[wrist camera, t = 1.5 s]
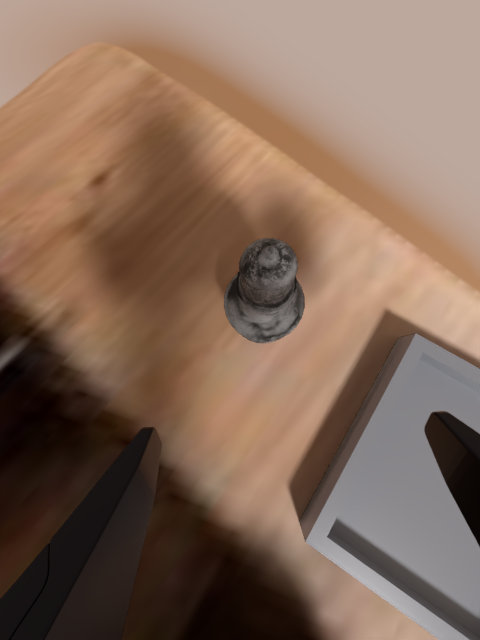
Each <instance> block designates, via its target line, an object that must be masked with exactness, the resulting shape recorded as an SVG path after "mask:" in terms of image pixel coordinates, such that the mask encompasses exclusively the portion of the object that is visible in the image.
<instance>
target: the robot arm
mask: <svg viewBox="0 0 480 640" xmlns="http://www.w3.org/2000/svg"><path fill="white" fill-rule="evenodd" d="M424 432H425V435H426V438H427V440H428V442H429V445H430V447H431V450H432V452H433V454H434V457H435V459H436V462H437V464H438V466H439V469H440V471H441V474H442V476H443V478H444V480H445V483H446V485H447V487H448V489H449V491H450V492H451V494H452V496H453V498H454V500H455V502H456V504H457V506H458V507H459V509H460V511H461V513H462V515H463V517H464V519H465V521H466V522H467V524H468V526H469V528H470V530H471V532H472V534H473V536H474V537H475V539H476V541H477V543H478V545H479V547H480V434H479V433H478V432H476V431H475V430H474V429H472V428H471V427H469V426H468V425H466V424H465V423H463V422H462V421H461V420H459V419H458V418H456V417H455V416H453V415H452V414H450V413H449V412H446V411H435V412H432V413H431V414H430V416H429V418H428V420H427V422H426V424H425V427H424ZM160 454H161V440H160V438H159V435H158V433H157V430H156V428H154V427H144V428H142V429H141V430H140V431H139V432H138V433H137V435H136V436H135V437H134V438H133V439H132V441H131V442H130V443H129V444H128V446H127V447H126V448H125V449H124V451H123V452H122V453H121V454H120V455H119V457H118V458H117V459H116V460H115V462H114V463H113V464H112V465H111V466H110V468H109V469H108V470H107V471H106V473H105V474H104V475H103V476H102V477H101V479H100V480H99V481H98V482H97V484H96V485H95V486H94V487H93V489H92V490H91V491H90V492H89V493H88V495H87V496H86V497H85V498H84V500H83V501H82V502H81V503H80V504H79V506H78V507H77V508H76V509H75V511H74V512H73V513H72V514H71V515H70V517H69V518H68V519H67V520H66V522H65V523H64V524H63V525H62V527H61V528H60V529H59V530H58V531H57V533H56V534H55V535H54V536H53V538H52V539H51V540H50V543H48V544H47V545H46V546H45V547H44V548H43V550H42V551H41V552H40V553H39V555H38V556H37V557H36V558H35V559H34V561H33V562H32V563H31V564H30V565H29V567H28V568H27V569H26V570H25V571H24V572H23V574H22V575H21V576H20V577H19V578H18V580H17V581H16V582H15V583H14V584H13V585H12V586H11V588H10V589H9V590H8V591H7V592H6V593H5V594H4V595H3V597H2V598H1V599H0V640H121V637H122V633H123V629H124V625H125V621H126V616H127V612H128V608H129V604H130V599H131V595H132V591H133V587H134V582H135V578H136V574H137V570H138V566H139V561H140V557H141V553H142V549H143V544H144V540H145V536H146V532H147V528H148V523H149V519H150V515H151V511H152V506H153V502H154V497H155V491H156V484H157V476H158V469H159V461H160Z"/></svg>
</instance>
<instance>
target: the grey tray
mask: <svg viewBox="0 0 480 640" xmlns="http://www.w3.org/2000/svg"><path fill="white" fill-rule="evenodd" d="M435 411H446V412H449V413H450V414H452V415H453V416H455V417H456V418H458V419H459V420H461V421H462V422H463V423H465V424H466V425H468V426H469V427H471V428H472V429H474V430H475V431H476V432H478V433H479V434H480V369H479V368H478V367H476V366H474V365H472V364H470V363H469V362H467V361H465V360H463V359H461V358H460V357H458V356H456V355H454V354H452V353H451V352H449V351H447V350H445V349H443V348H442V347H440V346H438V345H436V344H434V343H433V342H431V341H429V340H427V339H425V338H424V337H422V336H420V335H418V334H416V333H415V334H411V335H407V336H404V337H400V338H398V339H397V341H396V343H395V345H394V347H393V349H392V350H391V352H390V354H389V356H388V358H387V360H386V362H385V363H384V365H383V367H382V369H381V371H380V373H379V374H378V376H377V378H376V380H375V382H374V384H373V386H372V387H371V389H370V391H369V393H368V395H367V397H366V399H365V400H364V402H363V404H362V406H361V408H360V410H359V411H358V413H357V415H356V417H355V419H354V421H353V423H352V424H351V426H350V428H349V430H348V432H347V434H346V436H345V437H344V439H343V441H342V443H341V445H340V447H339V449H338V450H337V452H336V454H335V456H334V458H333V460H332V461H331V463H330V465H329V467H328V469H327V471H326V473H325V474H324V476H323V478H322V480H321V482H320V484H319V486H318V487H317V489H316V491H315V493H314V495H313V497H312V498H311V500H310V502H309V504H308V506H307V508H306V510H305V511H304V513H303V515H302V517H301V519H300V521H299V522H300V526H301V529H302V532H303V536H304V539H305V542H306V543H308V544H309V545H310V546H312V547H313V548H315V549H316V550H317V551H319V552H320V553H321V554H323V555H324V556H325V557H327V558H328V559H330V560H331V561H332V562H334V563H335V564H336V565H338V566H339V567H341V568H342V569H343V570H345V571H346V572H347V573H349V574H350V575H351V576H353V577H354V578H356V579H357V580H358V581H360V582H361V583H362V584H364V585H365V586H366V587H368V588H369V589H371V590H372V591H373V592H375V593H376V594H377V595H379V596H380V597H382V598H383V599H384V600H386V601H387V602H388V603H390V604H391V605H392V606H394V607H395V608H397V609H398V610H399V611H401V612H402V613H403V614H405V615H406V616H408V617H409V618H410V619H412V620H413V621H414V622H416V623H417V624H418V625H420V626H421V627H423V628H424V629H425V630H427V631H428V632H429V633H431V634H432V635H434V636H435V637H436V638H438V639H439V640H480V547H479V545H478V543H477V541H476V539H475V537H474V536H473V534H472V532H471V530H470V528H469V526H468V524H467V522H466V521H465V519H464V517H463V515H462V513H461V511H460V509H459V507H458V506H457V504H456V502H455V500H454V498H453V496H452V494H451V492H450V491H449V489H448V487H447V485H446V483H445V480H444V478H443V476H442V474H441V471H440V469H439V466H438V464H437V462H436V459H435V457H434V454H433V452H432V450H431V447H430V445H429V442H428V440H427V438H426V435H425V432H424V427H425V424H426V422H427V420H428V418H429V416H430V414H431V413H432V412H435Z"/></svg>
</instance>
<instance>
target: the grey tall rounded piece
mask: <svg viewBox="0 0 480 640" xmlns="http://www.w3.org/2000/svg"><path fill="white" fill-rule="evenodd" d="M297 269H298V266H297V258H296V255H295V253H294V251H293V250H292V248H291V247H290V246H289V245H288V244H287V243H285V242H283V241H281V240H278V239H274V238H264V239H259V240H257V241H255V242H253V243H251V244H250V245H249V246H248V247H247V248H246V249H245V251H244V252H243V254H242V256H241V259H240V262H239V272H238V274H237V275H236V276H235V277H233V279H232V280H231V282H230V283H229V285H228V286H227V289H226V293H225V296H224V308H225V313H226V316H227V318H228V320H229V322H230V324H231V326H232V327H233V328H234V329H235V330H236V331H237V332H238V333H239V334H241V335H242V336H243V337H245V338H247V339H248V340H250V341H253V342H256V343H269V342H273V341H276V340H278V339H281V338H282V337H284V336H286V335H288V334H289V333H290V332H291V331H292V330H293V329H294V328H295V327H297V325H298V323H299V321H300V320H301V318H302V315H303V311H304V308H305V303H304V294H303V291H302V287H301V286H300V284H299V282H298V281H297V279H296V273H297Z"/></svg>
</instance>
